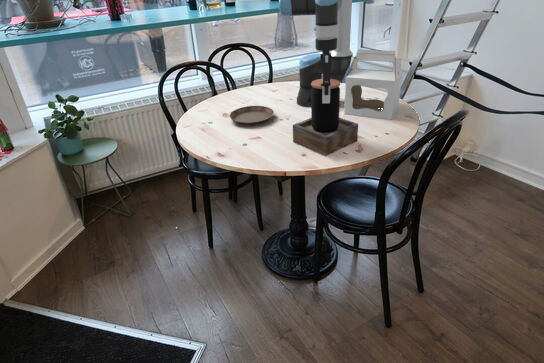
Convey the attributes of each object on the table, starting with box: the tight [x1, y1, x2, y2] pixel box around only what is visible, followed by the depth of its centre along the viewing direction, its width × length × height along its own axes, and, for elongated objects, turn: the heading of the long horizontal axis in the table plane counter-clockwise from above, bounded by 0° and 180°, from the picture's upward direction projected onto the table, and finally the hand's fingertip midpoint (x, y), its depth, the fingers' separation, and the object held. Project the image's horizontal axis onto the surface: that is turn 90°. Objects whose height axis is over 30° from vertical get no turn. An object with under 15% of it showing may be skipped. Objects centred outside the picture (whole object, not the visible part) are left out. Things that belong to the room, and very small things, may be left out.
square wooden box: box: [292, 117, 359, 157], centre depth 148 cm, size 18×18×8 cm
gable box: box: [343, 49, 403, 121], centre depth 168 cm, size 22×13×28 cm, turn 62°
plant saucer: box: [229, 105, 275, 127], centre depth 176 cm, size 21×21×3 cm
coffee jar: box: [310, 79, 341, 133], centre depth 143 cm, size 11×11×18 cm
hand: (325, 96), depth 141 cm, fingers open, 13 cm apart
